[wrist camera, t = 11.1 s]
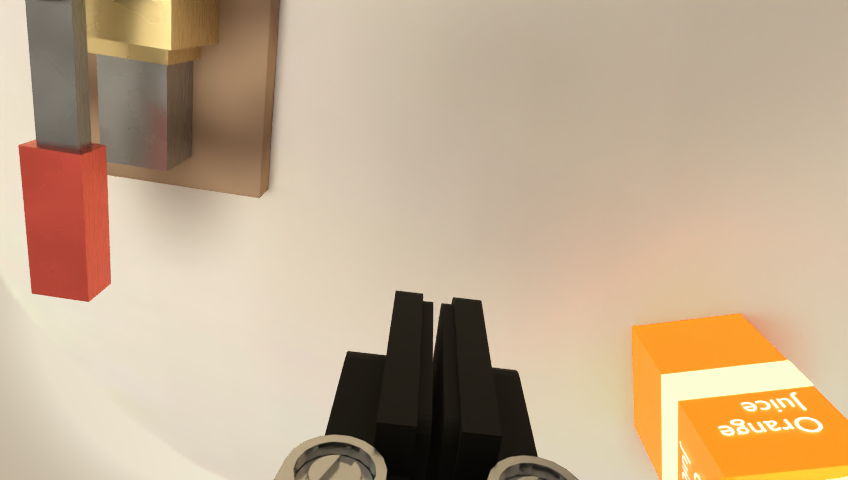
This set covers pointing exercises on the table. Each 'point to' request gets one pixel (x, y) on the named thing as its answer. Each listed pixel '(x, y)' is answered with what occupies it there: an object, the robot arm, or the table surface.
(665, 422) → the orange juice
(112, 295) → the table surface
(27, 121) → the table surface
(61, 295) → the lever
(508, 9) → the table surface
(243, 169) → the board
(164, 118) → the valve
